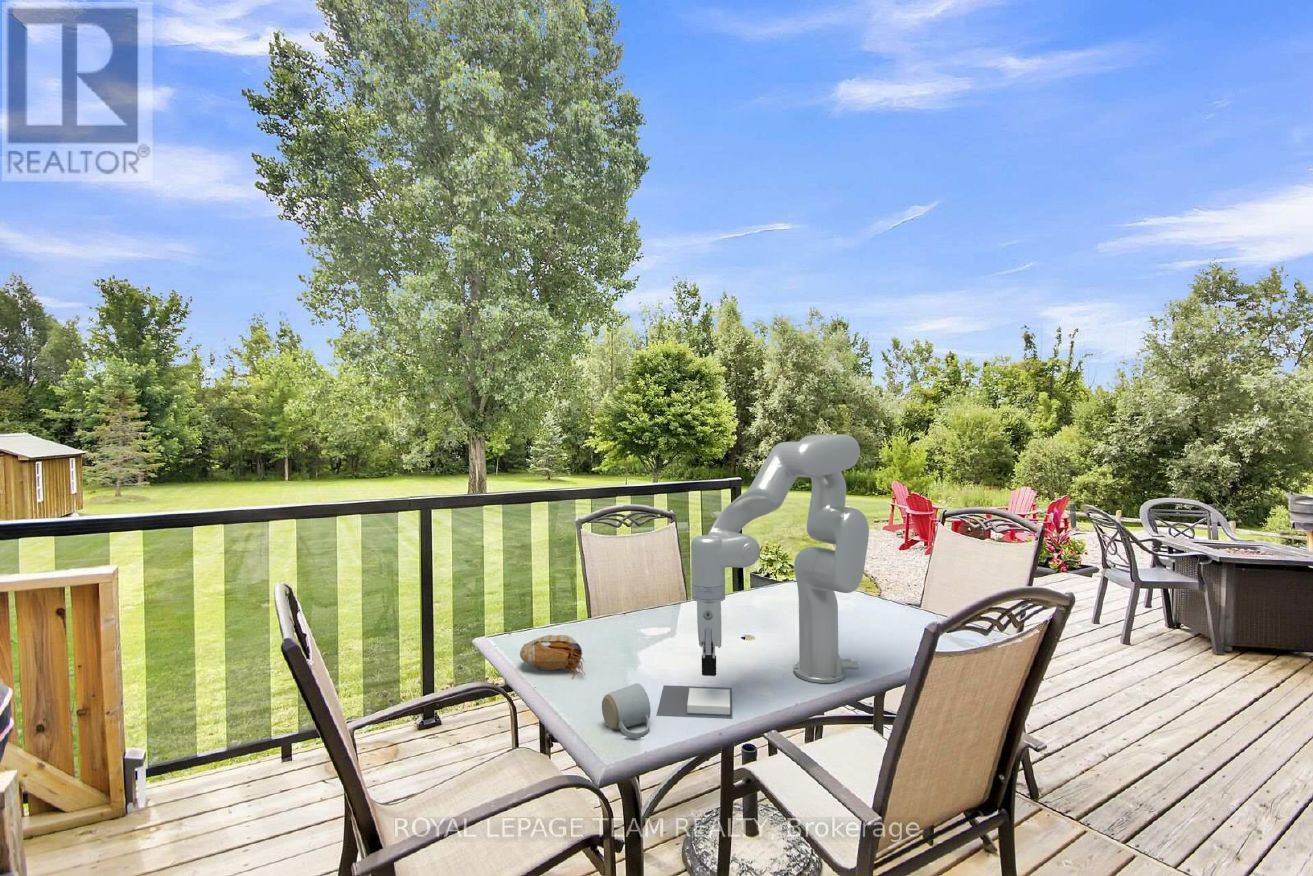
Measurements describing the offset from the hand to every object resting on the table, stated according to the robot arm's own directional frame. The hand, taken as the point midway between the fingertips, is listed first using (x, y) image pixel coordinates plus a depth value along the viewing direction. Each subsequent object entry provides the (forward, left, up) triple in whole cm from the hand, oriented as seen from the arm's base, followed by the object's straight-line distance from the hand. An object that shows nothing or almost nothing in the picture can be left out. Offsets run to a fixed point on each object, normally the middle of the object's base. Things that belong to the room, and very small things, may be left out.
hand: (709, 674), depth 132 cm
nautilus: (+39, -17, -7) cm, 43 cm away
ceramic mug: (+16, +12, -7) cm, 21 cm away
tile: (0, -2, -5) cm, 5 cm away
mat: (+3, 0, -7) cm, 7 cm away
